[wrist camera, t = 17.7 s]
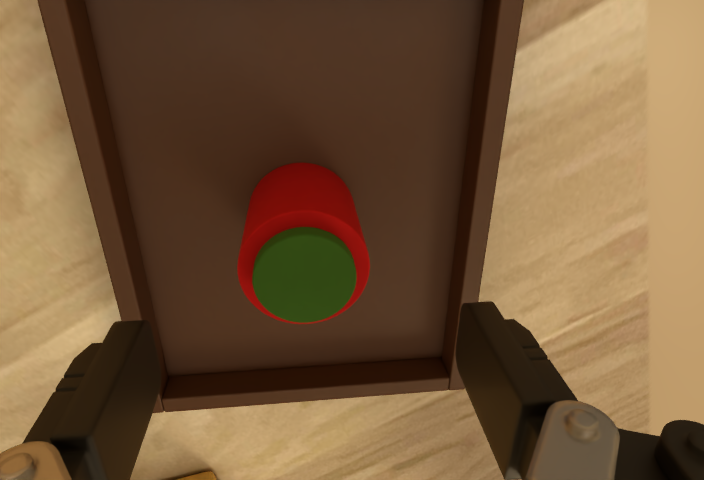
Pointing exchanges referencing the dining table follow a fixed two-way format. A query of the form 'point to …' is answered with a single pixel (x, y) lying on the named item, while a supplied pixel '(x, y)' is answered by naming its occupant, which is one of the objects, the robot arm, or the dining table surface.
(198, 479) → the cheese
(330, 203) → the green-capped red cylinder
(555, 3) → the dining table surface
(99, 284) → the dining table surface
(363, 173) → the tray
